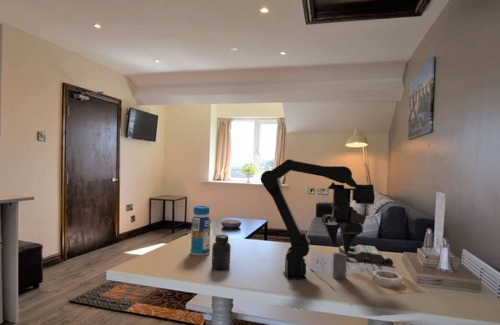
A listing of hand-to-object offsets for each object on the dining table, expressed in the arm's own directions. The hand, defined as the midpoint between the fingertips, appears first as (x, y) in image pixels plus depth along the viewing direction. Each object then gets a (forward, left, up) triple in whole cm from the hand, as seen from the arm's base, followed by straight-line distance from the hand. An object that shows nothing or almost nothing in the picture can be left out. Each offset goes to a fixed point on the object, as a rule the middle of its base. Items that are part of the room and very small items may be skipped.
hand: (339, 248), depth 107 cm
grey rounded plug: (0, 0, -11) cm, 11 cm away
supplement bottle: (-39, +17, -11) cm, 44 cm away
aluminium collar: (+14, -6, -10) cm, 18 cm away
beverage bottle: (-46, +37, -11) cm, 60 cm away
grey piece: (+22, +22, -12) cm, 33 cm away
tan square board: (+14, -6, -11) cm, 19 cm away
